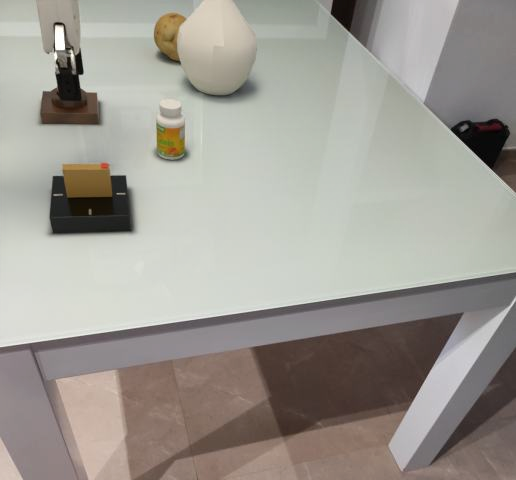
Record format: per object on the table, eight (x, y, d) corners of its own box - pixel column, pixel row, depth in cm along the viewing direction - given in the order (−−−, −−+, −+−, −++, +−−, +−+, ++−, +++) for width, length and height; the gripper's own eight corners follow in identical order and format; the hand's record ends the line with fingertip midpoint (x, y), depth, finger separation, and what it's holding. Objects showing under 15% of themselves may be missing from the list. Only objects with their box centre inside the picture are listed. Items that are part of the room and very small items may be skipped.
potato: (188, 48, 139) (189, 6, 132) (197, 67, 132) (199, 23, 124) (151, 47, 137) (149, 4, 129) (157, 66, 129) (156, 21, 122)
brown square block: (42, 123, 103) (38, 103, 100) (44, 101, 109) (41, 82, 107) (98, 124, 106) (96, 104, 103) (98, 102, 112) (96, 83, 109)
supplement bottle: (152, 155, 100) (150, 105, 92) (164, 144, 103) (163, 94, 96) (177, 163, 99) (177, 113, 92) (189, 151, 102) (189, 102, 95)
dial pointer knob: (67, 197, 82) (61, 167, 78) (67, 192, 83) (62, 162, 79) (112, 197, 84) (109, 167, 80) (112, 191, 85) (108, 162, 81)
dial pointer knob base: (52, 233, 80) (49, 216, 78) (55, 191, 88) (52, 174, 86) (131, 231, 83) (129, 214, 81) (127, 190, 91) (126, 174, 88)
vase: (266, 88, 127) (284, -61, 105) (223, 111, 116) (234, -51, 94) (207, 66, 133) (213, -81, 111) (161, 85, 122) (157, -74, 100)
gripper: (28, -64, 73) (51, 64, 86) (14, -31, 62) (43, 110, 75) (83, -59, 75) (97, 66, 87) (79, -26, 64) (96, 112, 76)
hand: (72, 86), depth 81 cm, fingers open, 9 cm apart
